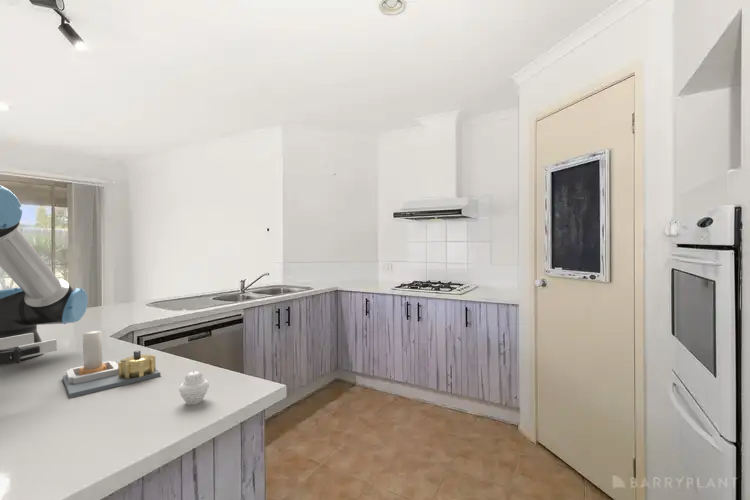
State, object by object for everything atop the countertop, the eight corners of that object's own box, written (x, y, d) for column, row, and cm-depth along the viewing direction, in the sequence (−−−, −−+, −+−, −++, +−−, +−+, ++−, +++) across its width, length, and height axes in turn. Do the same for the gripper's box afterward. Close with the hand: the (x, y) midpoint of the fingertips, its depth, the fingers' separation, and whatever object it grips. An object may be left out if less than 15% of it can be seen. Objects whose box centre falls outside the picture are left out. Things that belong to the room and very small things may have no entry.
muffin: (173, 408, 78) (172, 376, 77) (189, 396, 84) (188, 366, 84) (200, 408, 77) (199, 376, 77) (214, 396, 83) (214, 366, 83)
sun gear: (115, 373, 97) (115, 352, 97) (151, 366, 103) (150, 345, 103) (122, 381, 91) (121, 358, 91) (159, 372, 97) (158, 351, 97)
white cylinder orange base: (78, 374, 97) (77, 332, 97) (104, 369, 101) (103, 329, 101) (81, 380, 93) (80, 336, 93) (108, 374, 97) (107, 332, 97)
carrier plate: (62, 379, 97) (62, 370, 97) (143, 362, 110) (143, 354, 110) (69, 397, 84) (69, 387, 84) (160, 375, 98) (160, 366, 98)
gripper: (-108, 376, 76) (25, 349, 95) (-80, 400, 64) (67, 364, 82) (-110, 342, 76) (24, 321, 94) (-82, 359, 64) (65, 332, 82)
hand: (44, 341), depth 88 cm, fingers open, 13 cm apart
